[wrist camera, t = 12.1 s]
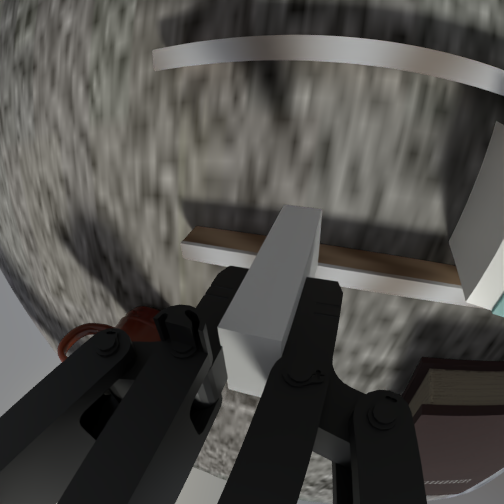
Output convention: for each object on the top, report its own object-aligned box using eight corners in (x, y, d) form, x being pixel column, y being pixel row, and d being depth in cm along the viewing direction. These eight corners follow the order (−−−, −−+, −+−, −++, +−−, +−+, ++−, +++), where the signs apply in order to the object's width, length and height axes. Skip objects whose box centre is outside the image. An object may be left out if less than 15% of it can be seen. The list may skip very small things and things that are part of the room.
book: (469, 461, 32) (467, 493, 27) (361, 458, 38) (353, 492, 34) (575, 357, 16) (587, 404, 12) (421, 353, 22) (421, 414, 18)
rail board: (198, 240, 23) (170, 273, 20) (175, 48, 15) (132, 52, 12) (537, 295, 15) (553, 334, 12) (594, 117, 8) (632, 137, 4)
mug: (205, 323, 28) (150, 414, 20) (193, 364, 34) (151, 438, 26) (101, 267, 29) (35, 336, 21) (107, 316, 35) (57, 377, 27)
